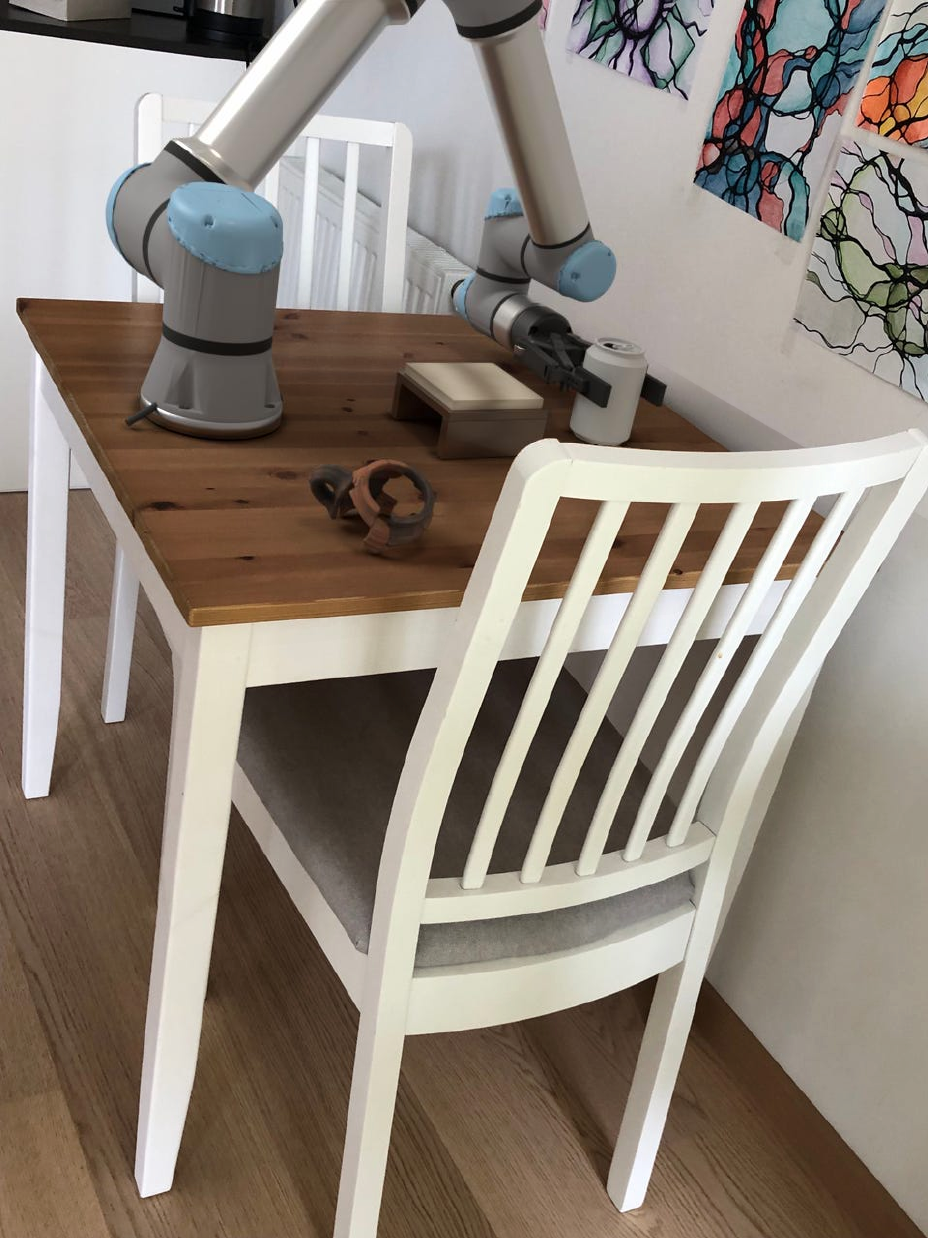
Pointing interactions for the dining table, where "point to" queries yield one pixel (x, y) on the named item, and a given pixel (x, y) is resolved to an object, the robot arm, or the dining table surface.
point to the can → (626, 375)
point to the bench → (471, 408)
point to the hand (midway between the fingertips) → (634, 396)
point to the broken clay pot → (373, 500)
